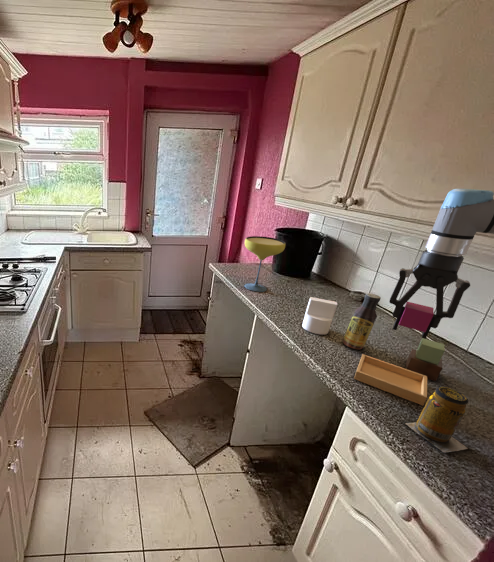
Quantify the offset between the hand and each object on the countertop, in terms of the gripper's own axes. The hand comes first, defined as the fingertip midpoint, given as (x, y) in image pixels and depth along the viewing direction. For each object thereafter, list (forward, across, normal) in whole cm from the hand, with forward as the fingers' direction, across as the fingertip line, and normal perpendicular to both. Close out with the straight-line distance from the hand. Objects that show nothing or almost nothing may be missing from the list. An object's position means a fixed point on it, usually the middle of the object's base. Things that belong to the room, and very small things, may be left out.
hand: (409, 332), depth 87 cm
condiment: (+17, -10, +18) cm, 27 cm away
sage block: (+12, -7, -14) cm, 20 cm away
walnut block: (+17, -7, -14) cm, 23 cm away
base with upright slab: (+17, +24, -20) cm, 36 cm away
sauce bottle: (+17, +11, -16) cm, 26 cm away
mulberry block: (-2, 0, 0) cm, 2 cm away
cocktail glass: (+17, +57, -45) cm, 75 cm away
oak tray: (+17, 0, 0) cm, 17 cm away
